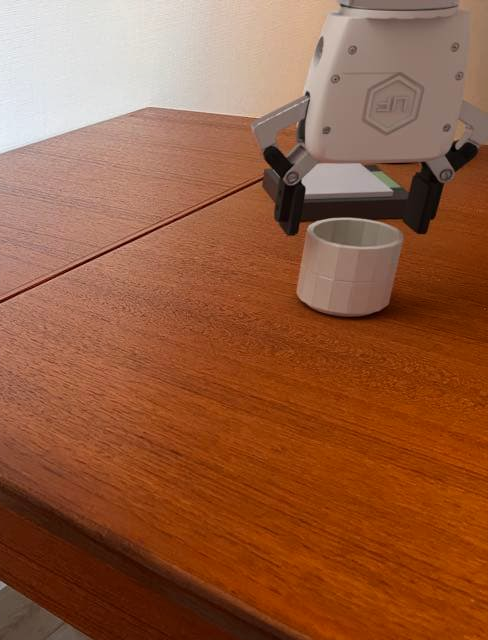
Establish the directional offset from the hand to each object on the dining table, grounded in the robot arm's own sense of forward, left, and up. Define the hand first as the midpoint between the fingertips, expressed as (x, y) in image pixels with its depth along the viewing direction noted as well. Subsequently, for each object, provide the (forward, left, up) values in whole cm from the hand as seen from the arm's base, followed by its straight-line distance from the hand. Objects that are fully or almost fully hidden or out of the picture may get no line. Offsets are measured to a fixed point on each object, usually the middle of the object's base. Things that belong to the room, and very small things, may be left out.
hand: (350, 229), depth 68 cm
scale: (-7, -26, -6) cm, 27 cm away
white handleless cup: (0, 0, -6) cm, 6 cm away
